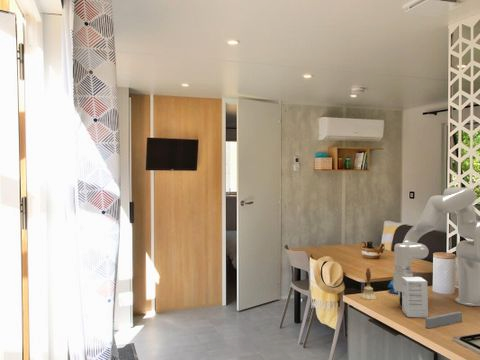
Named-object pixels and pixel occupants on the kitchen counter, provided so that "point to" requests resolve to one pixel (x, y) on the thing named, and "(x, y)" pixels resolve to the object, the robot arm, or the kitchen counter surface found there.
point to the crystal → (392, 287)
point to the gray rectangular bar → (443, 319)
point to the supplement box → (414, 297)
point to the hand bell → (368, 288)
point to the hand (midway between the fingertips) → (403, 305)
